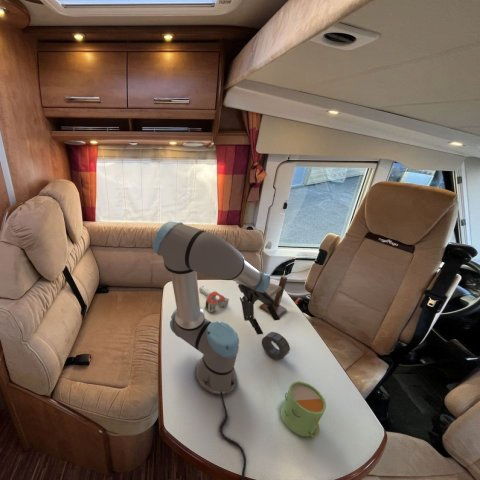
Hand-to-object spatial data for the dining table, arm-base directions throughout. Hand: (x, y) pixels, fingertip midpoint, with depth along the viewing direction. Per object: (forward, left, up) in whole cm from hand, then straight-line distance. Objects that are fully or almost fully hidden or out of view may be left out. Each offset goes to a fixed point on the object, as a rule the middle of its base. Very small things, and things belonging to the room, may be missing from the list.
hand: (269, 326), depth 101 cm
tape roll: (-4, -3, -12) cm, 13 cm away
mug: (-31, +2, -12) cm, 33 cm away
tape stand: (+22, -13, -12) cm, 28 cm away
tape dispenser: (+31, +16, -9) cm, 36 cm away
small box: (+36, -20, -12) cm, 43 cm away
